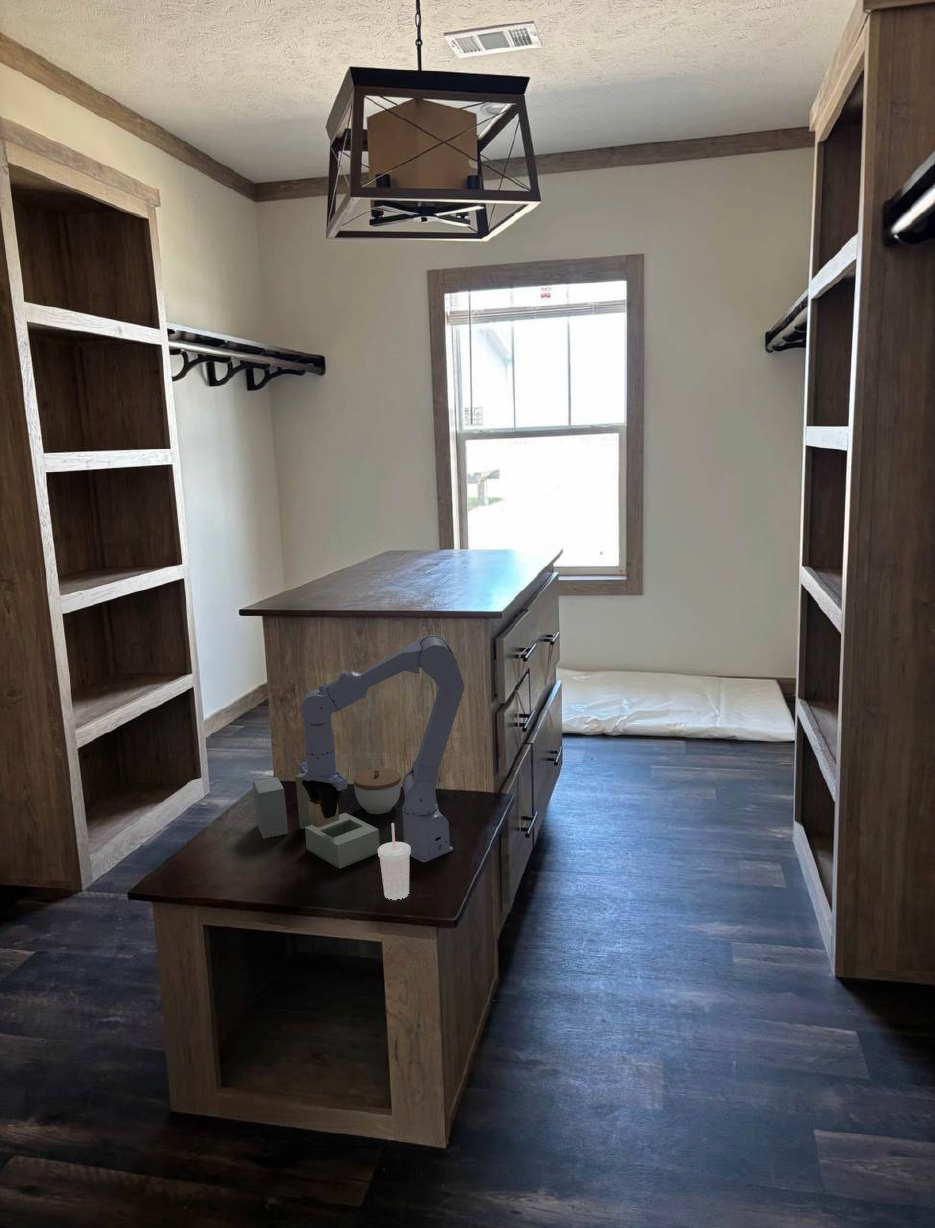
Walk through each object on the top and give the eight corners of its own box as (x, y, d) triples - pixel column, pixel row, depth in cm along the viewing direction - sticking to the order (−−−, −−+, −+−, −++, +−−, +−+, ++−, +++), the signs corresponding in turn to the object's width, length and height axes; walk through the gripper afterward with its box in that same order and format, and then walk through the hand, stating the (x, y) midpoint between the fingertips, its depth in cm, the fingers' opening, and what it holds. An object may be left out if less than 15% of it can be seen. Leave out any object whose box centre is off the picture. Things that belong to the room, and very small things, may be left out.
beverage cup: (400, 882, 171) (396, 813, 168) (419, 894, 166) (416, 823, 164) (373, 893, 167) (369, 823, 164) (393, 905, 163) (388, 833, 160)
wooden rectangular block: (339, 820, 181) (337, 797, 180) (318, 828, 178) (316, 804, 177) (330, 816, 183) (329, 793, 182) (309, 823, 180) (308, 800, 179)
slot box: (380, 852, 184) (378, 829, 183) (339, 869, 177) (337, 845, 176) (346, 834, 193) (345, 812, 192) (306, 849, 186) (304, 827, 185)
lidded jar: (356, 800, 210) (354, 762, 209) (402, 798, 211) (400, 760, 209) (353, 819, 200) (351, 780, 198) (402, 817, 200) (399, 777, 199)
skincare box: (317, 830, 195) (313, 777, 193) (298, 829, 196) (294, 777, 194) (328, 818, 201) (324, 767, 199) (309, 817, 202) (305, 766, 200)
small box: (288, 834, 194) (284, 788, 192) (262, 839, 192) (258, 793, 190) (281, 820, 201) (278, 776, 199) (256, 825, 199) (252, 780, 197)
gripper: (283, 747, 181) (289, 810, 183) (323, 764, 170) (328, 831, 173) (313, 738, 185) (318, 800, 188) (354, 754, 175) (358, 819, 177)
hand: (325, 814), depth 181 cm, fingers closed on wooden rectangular block, 3 cm apart
